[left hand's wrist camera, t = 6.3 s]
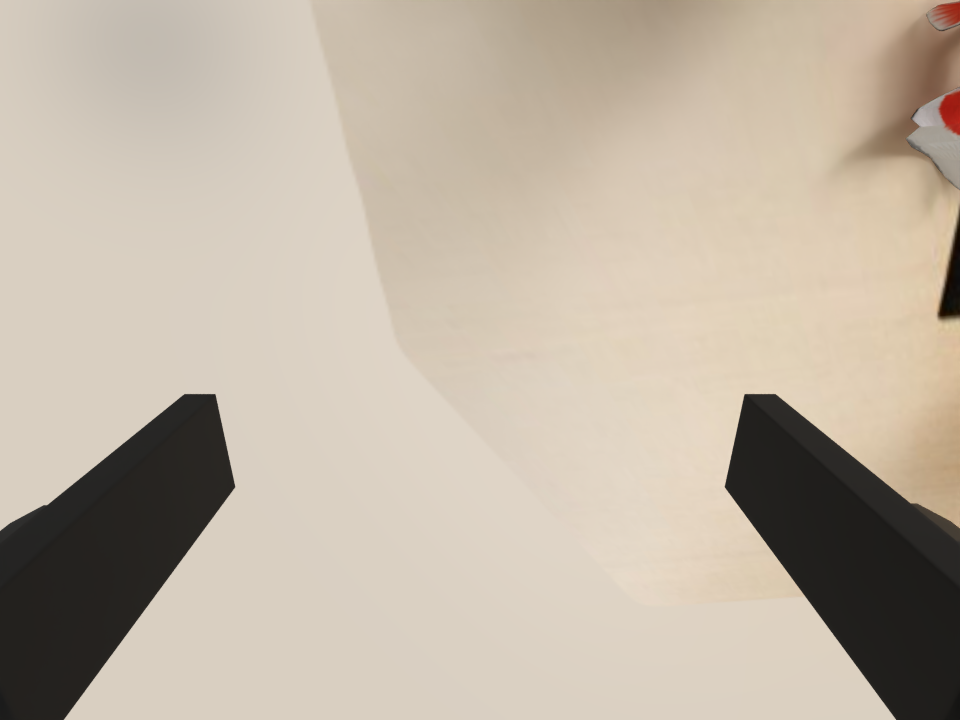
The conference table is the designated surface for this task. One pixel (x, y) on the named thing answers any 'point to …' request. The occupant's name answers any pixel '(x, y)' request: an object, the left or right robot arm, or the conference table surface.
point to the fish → (941, 112)
